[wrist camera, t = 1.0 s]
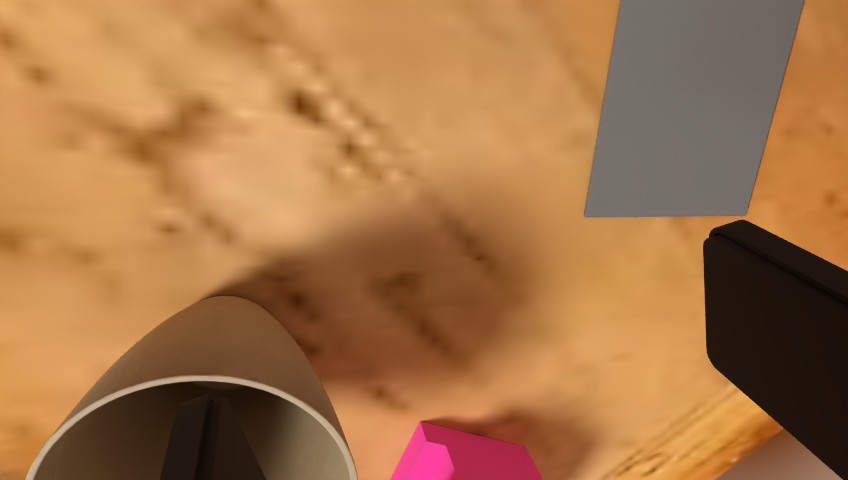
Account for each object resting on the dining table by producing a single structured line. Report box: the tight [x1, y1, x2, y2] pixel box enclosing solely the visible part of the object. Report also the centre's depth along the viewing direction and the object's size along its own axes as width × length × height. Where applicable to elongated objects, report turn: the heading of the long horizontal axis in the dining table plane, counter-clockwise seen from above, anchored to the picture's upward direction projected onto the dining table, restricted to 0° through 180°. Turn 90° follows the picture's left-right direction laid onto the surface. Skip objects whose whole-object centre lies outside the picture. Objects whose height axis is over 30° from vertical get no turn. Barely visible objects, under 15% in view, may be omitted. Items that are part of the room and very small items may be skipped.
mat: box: [584, 0, 804, 217], centre depth 43 cm, size 22×14×1 cm, turn 176°
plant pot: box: [25, 296, 358, 480], centre depth 35 cm, size 15×15×16 cm
